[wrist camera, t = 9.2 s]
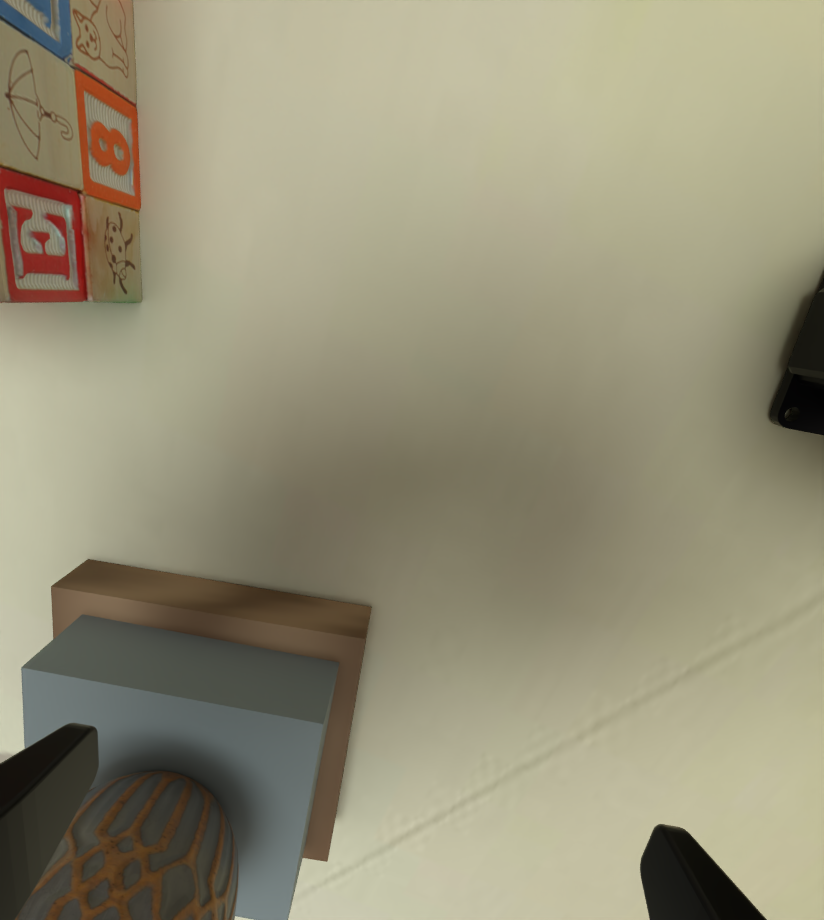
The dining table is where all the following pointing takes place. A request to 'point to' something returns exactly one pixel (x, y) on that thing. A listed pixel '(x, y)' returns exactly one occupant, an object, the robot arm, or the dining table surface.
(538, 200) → the dining table surface
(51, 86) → the stack of blocks
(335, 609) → the tower base
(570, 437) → the dining table surface
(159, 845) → the vase
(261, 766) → the tower top
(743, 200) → the dining table surface
